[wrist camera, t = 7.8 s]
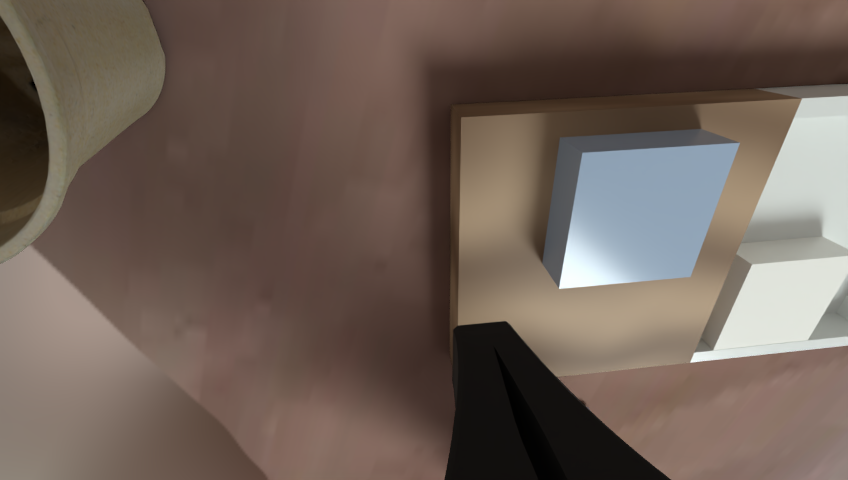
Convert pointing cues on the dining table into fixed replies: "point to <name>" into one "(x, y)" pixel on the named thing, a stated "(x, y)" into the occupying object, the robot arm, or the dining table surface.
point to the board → (529, 212)
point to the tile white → (776, 292)
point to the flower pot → (66, 98)
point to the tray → (805, 203)
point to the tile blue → (633, 205)
